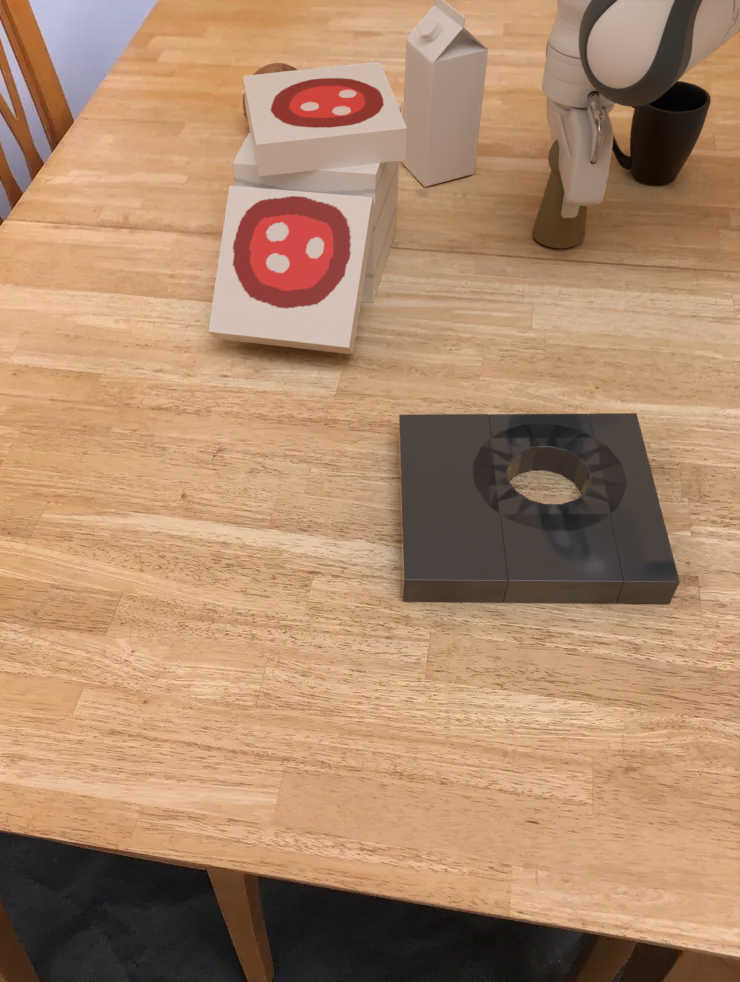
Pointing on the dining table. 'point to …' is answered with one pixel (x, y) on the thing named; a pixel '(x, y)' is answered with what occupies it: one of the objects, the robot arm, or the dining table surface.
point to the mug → (664, 134)
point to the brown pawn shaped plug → (557, 212)
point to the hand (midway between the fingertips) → (564, 200)
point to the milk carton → (442, 96)
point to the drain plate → (530, 511)
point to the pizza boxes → (309, 207)
